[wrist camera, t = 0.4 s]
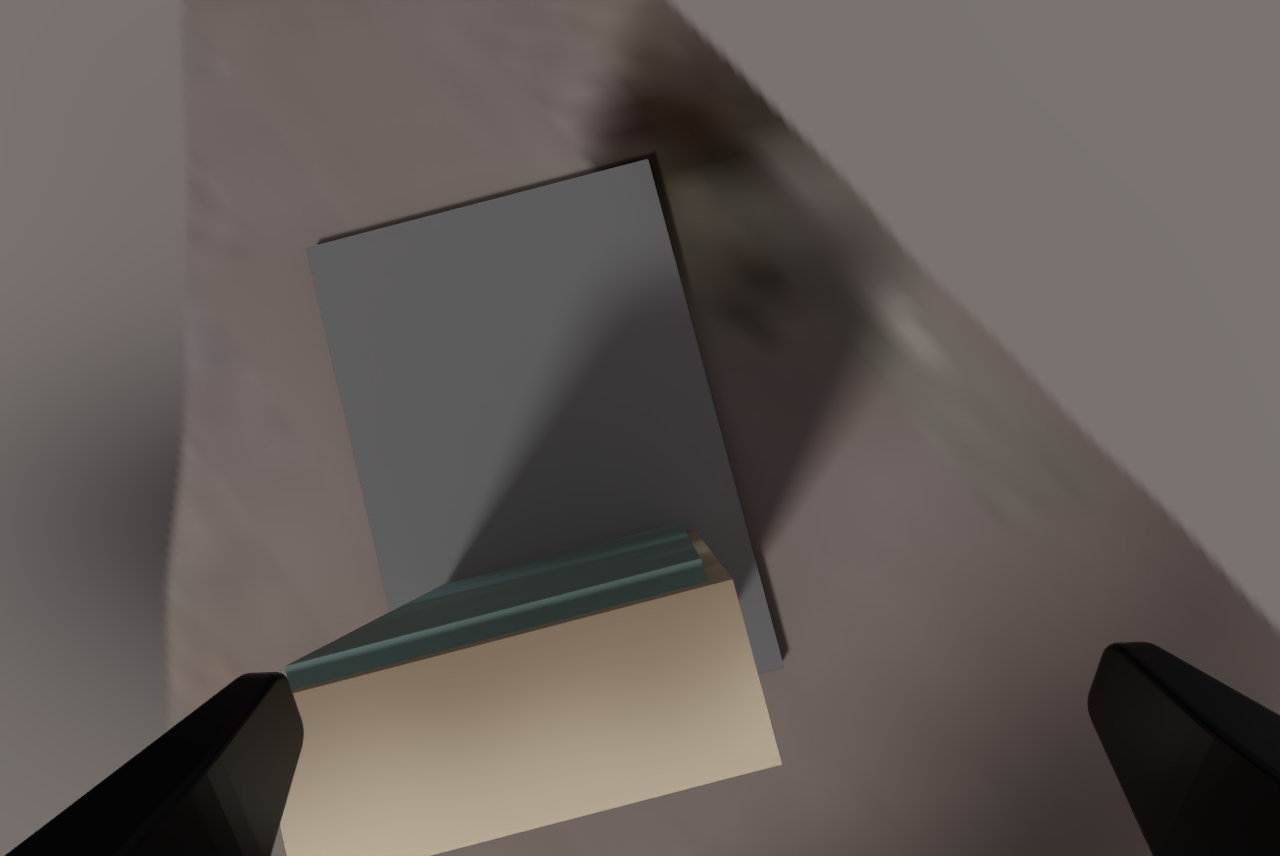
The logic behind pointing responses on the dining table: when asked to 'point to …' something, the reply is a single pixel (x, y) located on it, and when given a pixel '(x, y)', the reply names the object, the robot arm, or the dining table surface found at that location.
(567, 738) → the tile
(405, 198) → the dining table surface
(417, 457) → the mat
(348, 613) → the dining table surface
